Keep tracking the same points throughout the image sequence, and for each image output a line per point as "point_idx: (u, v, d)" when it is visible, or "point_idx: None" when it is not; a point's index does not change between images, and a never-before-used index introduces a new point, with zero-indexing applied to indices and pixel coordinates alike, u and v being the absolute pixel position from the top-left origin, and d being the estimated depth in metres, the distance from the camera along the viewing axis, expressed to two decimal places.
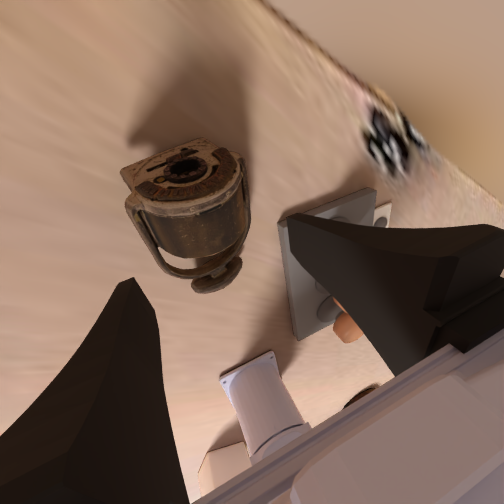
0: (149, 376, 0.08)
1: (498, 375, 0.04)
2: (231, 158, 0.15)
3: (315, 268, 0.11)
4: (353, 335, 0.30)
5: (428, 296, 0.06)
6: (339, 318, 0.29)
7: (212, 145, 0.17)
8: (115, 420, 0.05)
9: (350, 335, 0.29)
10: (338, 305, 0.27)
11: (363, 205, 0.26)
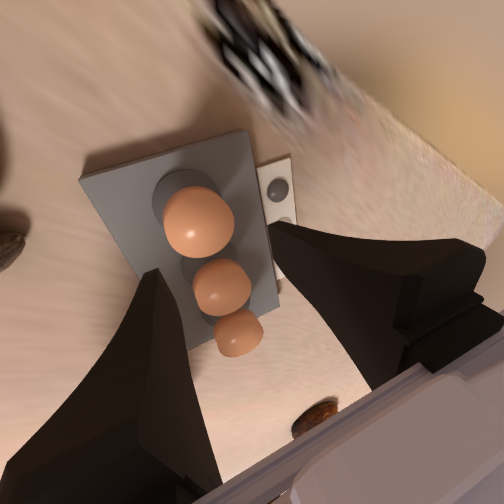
0: (179, 361, 0.08)
1: (498, 375, 0.04)
2: None
3: (296, 277, 0.11)
4: (240, 346, 0.21)
5: (396, 314, 0.06)
6: (218, 322, 0.21)
7: None
8: (163, 396, 0.05)
9: (234, 346, 0.21)
10: None
11: (230, 153, 0.17)
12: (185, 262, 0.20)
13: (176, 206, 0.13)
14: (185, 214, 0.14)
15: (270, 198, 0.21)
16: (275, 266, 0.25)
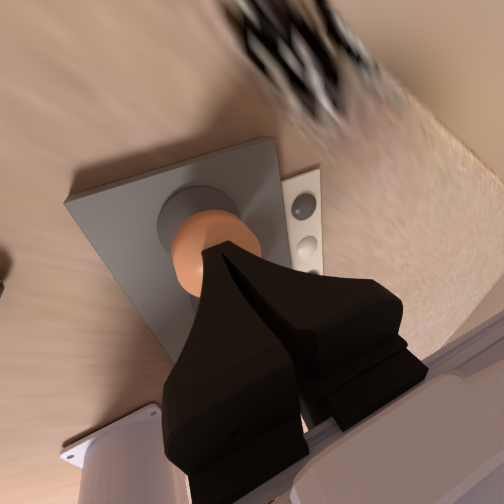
0: None
1: (498, 375, 0.04)
2: None
3: None
4: None
5: (305, 364, 0.05)
6: None
7: None
8: None
9: None
10: None
11: (252, 166, 0.14)
12: None
13: (191, 239, 0.10)
14: (201, 248, 0.10)
15: (294, 216, 0.18)
16: None
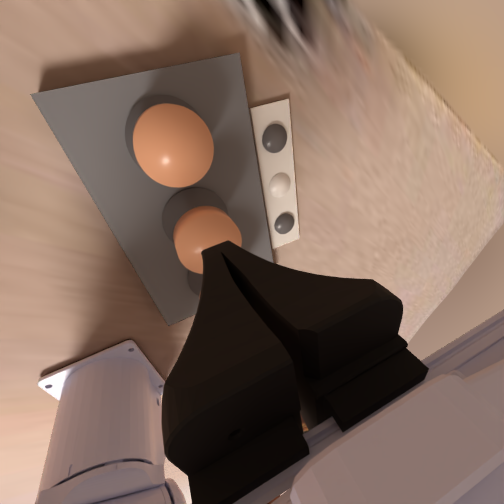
0: None
1: (498, 375, 0.04)
2: None
3: None
4: None
5: (305, 364, 0.05)
6: None
7: None
8: None
9: None
10: None
11: (218, 80, 0.15)
12: (167, 215, 0.17)
13: (145, 116, 0.12)
14: (156, 128, 0.12)
15: (265, 147, 0.18)
16: (271, 232, 0.23)
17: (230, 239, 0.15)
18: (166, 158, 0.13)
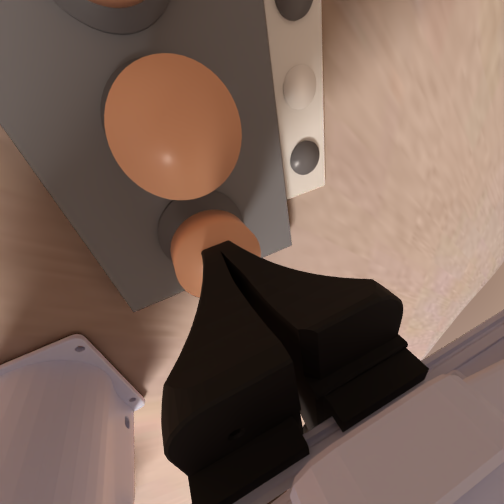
0: None
1: (498, 375, 0.04)
2: None
3: None
4: None
5: (305, 364, 0.05)
6: (177, 230, 0.11)
7: None
8: None
9: None
10: None
11: None
12: None
13: None
14: None
15: (279, 3, 0.11)
16: (285, 171, 0.15)
17: (219, 126, 0.08)
18: None
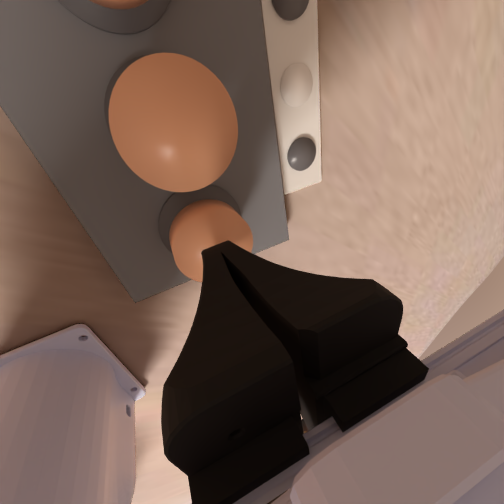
0: None
1: (498, 375, 0.04)
2: None
3: None
4: None
5: (305, 364, 0.05)
6: (175, 217, 0.12)
7: None
8: None
9: None
10: None
11: None
12: None
13: None
14: None
15: (276, 3, 0.11)
16: (283, 167, 0.16)
17: (216, 122, 0.08)
18: None
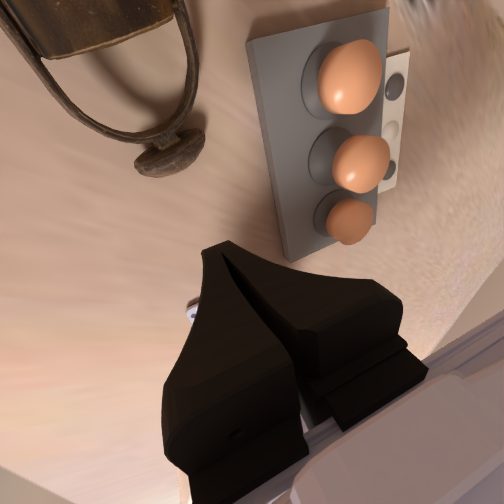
0: None
1: (498, 375, 0.04)
2: None
3: None
4: (353, 232, 0.23)
5: (305, 364, 0.05)
6: (333, 208, 0.22)
7: None
8: None
9: (349, 231, 0.22)
10: (340, 180, 0.19)
11: (371, 31, 0.18)
12: (314, 151, 0.20)
13: (346, 48, 0.15)
14: (350, 60, 0.15)
15: (387, 94, 0.22)
16: None
17: (382, 161, 0.18)
18: (349, 87, 0.16)
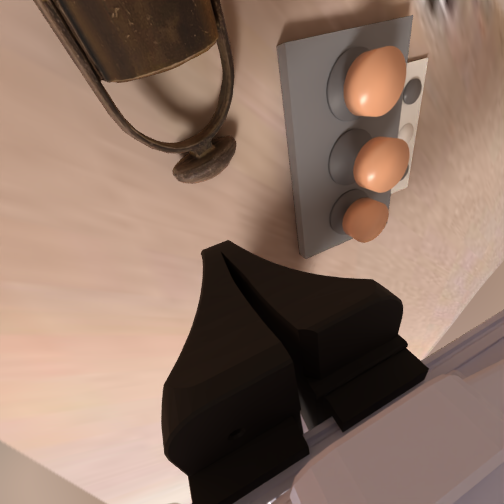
0: None
1: (498, 375, 0.04)
2: None
3: None
4: (368, 230, 0.23)
5: (305, 364, 0.05)
6: (350, 207, 0.23)
7: None
8: None
9: (364, 229, 0.23)
10: (361, 180, 0.20)
11: (394, 37, 0.19)
12: (335, 151, 0.21)
13: (375, 54, 0.16)
14: (378, 65, 0.16)
15: (405, 98, 0.23)
16: None
17: (402, 162, 0.19)
18: (375, 90, 0.17)
